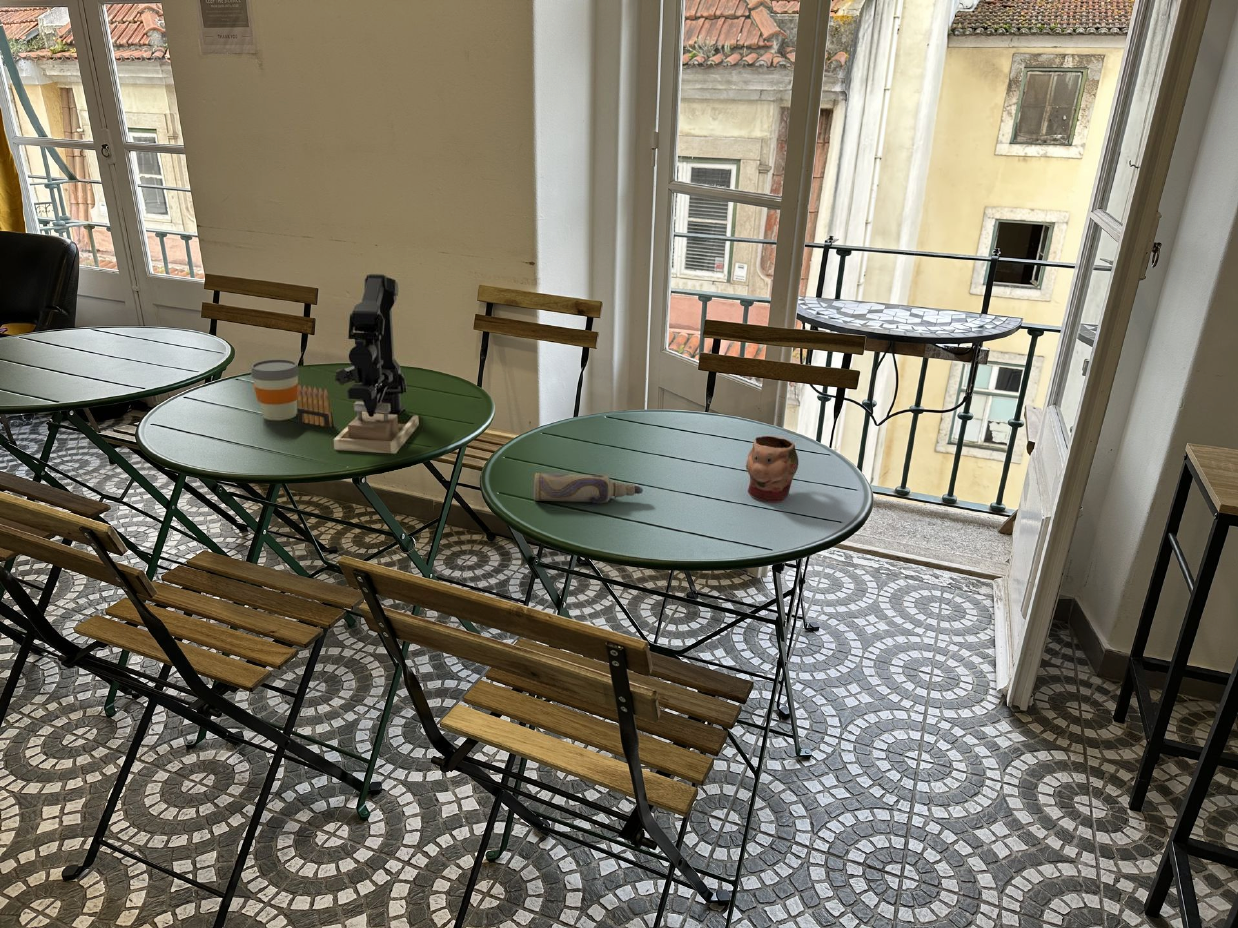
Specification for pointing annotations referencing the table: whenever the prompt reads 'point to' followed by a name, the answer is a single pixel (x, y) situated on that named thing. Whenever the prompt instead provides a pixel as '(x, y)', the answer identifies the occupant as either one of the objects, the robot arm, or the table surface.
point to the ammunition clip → (313, 408)
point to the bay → (375, 445)
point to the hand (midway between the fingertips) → (372, 415)
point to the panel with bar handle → (373, 423)
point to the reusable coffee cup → (276, 388)
